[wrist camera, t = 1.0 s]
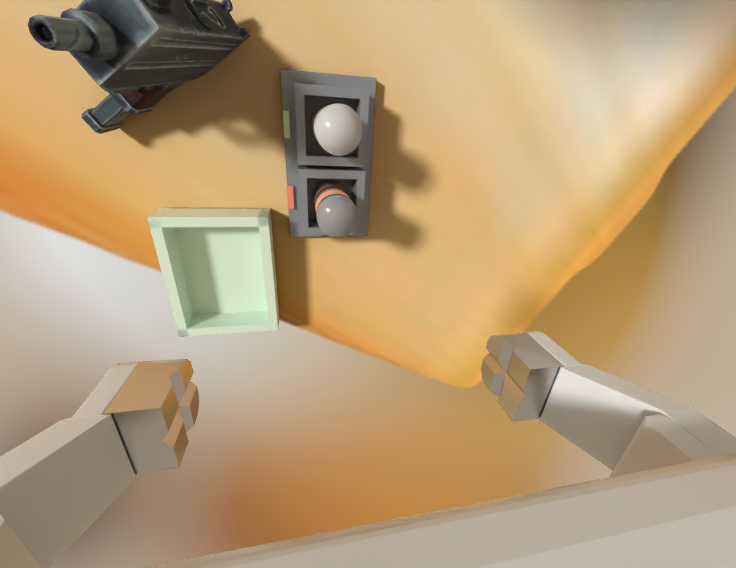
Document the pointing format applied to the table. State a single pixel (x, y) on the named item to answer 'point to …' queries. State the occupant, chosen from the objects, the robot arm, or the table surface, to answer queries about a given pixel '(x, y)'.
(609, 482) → the robot arm
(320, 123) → the ball
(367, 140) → the block
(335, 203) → the fuse
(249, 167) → the table surface
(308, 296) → the table surface
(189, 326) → the tray
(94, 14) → the gun
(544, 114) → the table surface
